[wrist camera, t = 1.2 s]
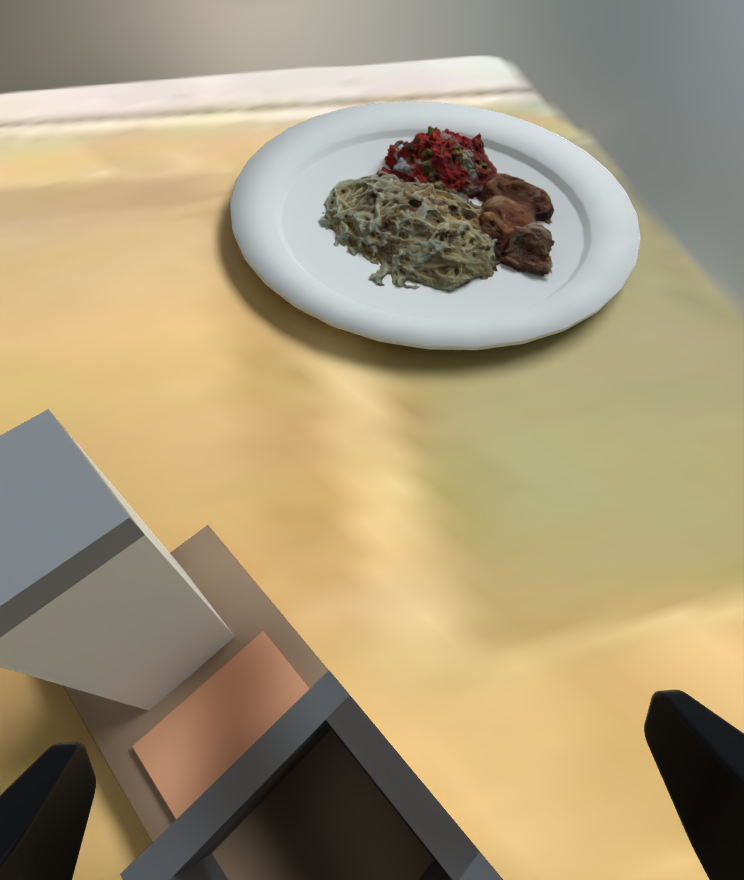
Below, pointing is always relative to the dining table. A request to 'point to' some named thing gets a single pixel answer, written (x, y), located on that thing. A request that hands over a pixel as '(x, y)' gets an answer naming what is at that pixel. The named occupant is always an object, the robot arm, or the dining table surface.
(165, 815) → the socket deck
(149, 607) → the plug
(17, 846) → the robot arm
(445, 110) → the plated food
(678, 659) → the dining table surface
